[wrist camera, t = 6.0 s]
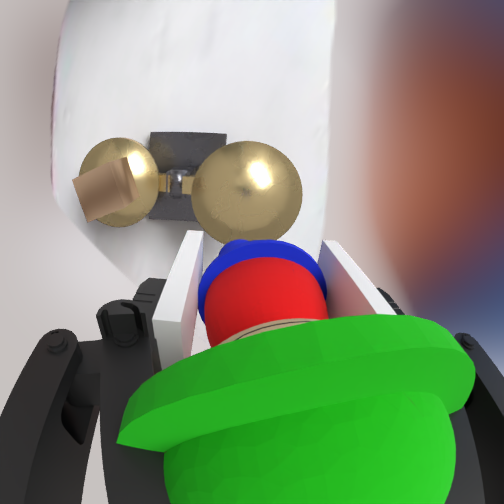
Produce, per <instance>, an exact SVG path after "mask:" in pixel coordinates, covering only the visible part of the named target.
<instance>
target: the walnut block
mask: <svg viewBox="0 0 504 504" xmlns="http://www.w3.org/2000/svg"><path fill="white" fill-rule="evenodd" d="M72 181H73V184H74V187H75V190H76V193H77V196H78V198H79V201H80V204H81V206H82V209H83V212H84V214H85V217H86V219H87V222H90V221H93V220H95V219H97V218H100V217H102V216H105V215H107V214H110V213H113V212H115V211H118V210H120V209H123V208H125V207H126V206H128V205H129V204H130V203H132V202H133V201H134V200H135V199H137V198H138V197H139V196H140V195H139V192H138V189H137V186H136V184H135V181H134V178H133V175H132V172H131V168H130V165H129V162H128V159H127V157H124V158H120V159H117V160H114V161H110V162H108V163H105V164H103V165H101V166H99V167H97V168H95V169H93V170H91V171H89V172H87V173H85V174H83V175H81V176H79V177H77V178H75V179H73V180H72Z"/></svg>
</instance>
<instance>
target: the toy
mask: <svg viewBox="0 0 504 504" xmlns="http://www.w3.org/2000/svg"><path fill="white" fill-rule="evenodd" d="M326 298H327V286H326V280H325V278H324V275H323V273H322V271H321V269H320V267H319V266H318V264H317V263H316V261H315V260H314V259H313V258H312V257H311V256H310V255H309V254H308V253H306V252H305V251H304V250H302V249H301V248H299V247H297V246H295V245H293V244H290V243H287V242H284V241H277V240H271V239H268V240H253V241H247V240H243V239H238V240H233V241H230V242H229V243H227V244H225V246H224V247H223V248H222V249H221V251H220V253H219V256H218V257H217V258H216V259H215V260H213V261H212V263H211V264H210V265H209V266H208V268H207V269H206V271H205V272H204V274H203V276H202V278H201V281H200V284H199V289H198V310H199V314H200V316H201V319H202V321H203V322H204V324H205V326H206V331H207V336H208V340H209V343H210V346H211V348H210V349H208V350H205V351H203V352H200V353H198V354H195V355H193V356H190V357H188V358H185V359H182V360H180V361H178V362H176V363H174V364H172V365H171V366H169V367H167V368H165V369H163V370H162V371H160V372H158V373H156V374H155V375H154V376H152V377H151V378H150V379H148V380H147V381H145V382H144V383H143V384H142V385H141V386H140V387H139V388H138V389H137V390H136V392H135V393H134V394H133V395H132V396H131V397H130V398H129V401H128V403H127V406H126V408H125V411H124V414H123V418H122V422H121V426H120V430H119V434H118V438H117V442H116V443H118V444H122V445H126V446H131V447H136V448H141V449H146V450H152V451H158V452H164V467H163V468H164V479H165V486H166V489H167V493H168V497H169V500H170V503H171V504H444V503H445V501H446V499H447V496H448V493H449V491H450V488H451V484H452V481H453V477H454V470H455V462H456V444H455V437H454V431H453V428H452V424H451V421H450V418H449V414H451V413H453V412H455V411H457V410H459V409H462V407H463V406H464V404H465V403H466V401H467V399H468V398H469V395H470V393H471V391H472V388H473V386H474V381H475V366H474V363H473V361H472V360H471V359H470V357H469V356H468V355H467V353H466V352H465V351H464V350H463V348H462V347H461V346H460V345H459V343H458V342H457V341H456V340H455V339H454V337H453V336H452V335H451V334H450V332H449V331H448V330H446V329H445V328H443V327H442V326H440V325H438V324H437V323H435V322H433V321H430V320H426V319H422V318H418V317H414V316H410V315H390V314H371V315H358V316H345V317H338V318H331V319H329V317H328V311H327V305H326Z"/></svg>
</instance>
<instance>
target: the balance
mask: <svg viewBox="0 0 504 504" xmlns="http://www.w3.org/2000/svg"><path fill="white" fill-rule="evenodd" d="M226 139H227V134H218V133H197V132H151V134H150V152H149V150H148V149H147V148H145V147H144V146H143V145H142V144H140V143H139V142H137V141H135V140H132V139H129V138H111V139H108V140H105V141H102V142H100V143H99V144H97V145H96V146H95V147H93V148H92V149H91V150H90V152H89V153H88V154H87V156H86V157H85V159H84V161H83V163H82V165H81V168H80V172H79V176H81V175H83V174H85V173H87V172H89V171H91V170H93V169H95V168H97V167H99V166H101V165H103V164H105V163H108V162H110V161H114V160H117V159H120V158H124V157H127V159H128V162H129V165H130V168H131V172H132V175H133V178H134V181H135V184H136V186H137V189H138V192H139V195H140V196H139V197H138V198H137V199H135V200H134V201H133V202H132V203H130V204H129V205H128V206H126V207H125V208H123V209H120V210H118V211H115V212H113V213H110V214H107V215H105V216H102V217H100V218H97V220H98V221H100V222H101V223H103V224H106V225H108V226H112V227H126V226H130V225H133V224H135V223H137V222H138V221H140V220H141V219H143V218H144V217H145V216H146V215H147V214H148V213H149V219H165V220H184V221H198V222H199V224H200V225H201V227H202V228H203V229H204V230H205V231H206V232H207V233H208V234H209V235H210V236H211V237H212V238H214V239H215V240H217V241H219V242H221V243H223V244H227V243H229V242H230V241H233V240H238V239H243V240H247V241H253V240H268V239H271V240H277V239H278V238H280V237H281V236H282V235H284V234H285V233H286V232H287V231H288V230H289V229H290V227H291V226H292V225H293V223H294V222H295V220H296V218H297V216H298V214H299V211H300V208H301V204H302V185H301V180H300V177H299V174H298V172H297V170H296V168H295V167H294V165H293V164H292V162H291V161H290V160H289V159H288V158H287V157H286V156H285V155H284V154H283V153H282V152H280V151H279V150H277V149H275V148H274V147H271V146H269V145H267V144H263V143H260V142H254V141H240V142H234V143H230V144H228V145H226Z"/></svg>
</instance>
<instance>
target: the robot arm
mask: <svg viewBox="0 0 504 504" xmlns="http://www.w3.org/2000/svg"><path fill="white" fill-rule="evenodd" d="M203 233H204V231H193V230H187V233H186V235H185V237H184V240H183V242H182V244H181V247H180V249H179V251H178V254H177V256H176V259H175V261H174V263H173V266H172V268H171V271H170V273H169V276H168V278H167V279H156V278H148V279H147V280H146V281H144V282H143V283H142V284H140V286H139V288H138V290H137V292H136V294H135V296H134V298H133V301H132V300H122V299H121V300H115V301H111V302H109V303H107V304H105V305H103V306H102V307H101V308H100V309H99V310H98V312H97V314H96V318H97V321H98V325H99V328H100V332H101V335H102V339H101V340H95V341H83V342H78V340H77V337H76V335H75V334H74V333H73V332H72V331H69V330H66V329H56V330H52V331H50V332H48V333H47V334H45V335H44V336H43V337H42V338H41V339H40V340H39V342H38V344H37V345H36V347H35V349H34V351H33V352H32V354H31V356H30V357H29V359H28V361H27V363H26V365H25V366H24V368H23V370H22V372H21V374H20V376H19V378H18V380H17V382H16V384H15V386H14V388H13V390H12V392H11V394H10V396H9V398H8V400H7V403H6V405H5V407H4V409H3V411H2V414H1V416H0V504H81V501H82V494H83V486H84V480H85V475H86V469H87V463H88V458H89V453H90V449H91V444H92V440H93V435H94V431H95V427H96V423H97V419H98V415H99V411H100V432H101V448H102V460H103V470H104V477H105V485H106V490H107V497H108V502H109V504H171V503H170V500H169V497H168V493H167V489H166V486H165V479H164V468H163V467H164V452H158V451H152V450H146V449H141V448H136V447H131V446H126V445H122V444H118V443H116V442H117V438H118V434H119V430H120V426H121V422H122V418H123V414H124V411H125V408H126V406H127V403H128V401H129V398H130V397H131V396H132V395H133V394H134V393H135V392H136V390H137V389H138V388H139V387H140V386H141V385H142V384H143V383H144V382H145V381H147V380H148V379H150V378H151V377H152V376H154V375H155V374H156V373H158V372H160V371H162V370H163V369H165V368H167V367H169V366H171V365H172V364H174V363H176V362H178V361H180V360H182V359H185V358H188V357H190V356H191V349H192V342H193V335H194V329H195V322H196V316H197V310H198V289H199V284H200V281H201V278H202V268H203ZM317 264H318V266H319V267H320V269H321V271H322V273H323V275H324V278H325V280H326V286H327V298H326V305H327V311H328V317H329V319H331V318H338V317H345V316H358V315H371V314H390V315H405V314H404V313H403V312H402V310H401V309H399V307H398V306H397V304H396V303H394V300H393V299H392V298H391V297H390V296H389V295H388V294H387V293H386V292H384V291H383V290H382V289H380V288H376V287H375V286H374V285H373V284H372V282H371V281H370V280H369V279H368V277H367V276H366V275H365V274H364V273H363V271H362V270H361V269H360V268H359V267H358V265H357V264H356V263H355V262H354V261H353V260H352V258H351V257H350V256H349V255H348V254H347V253H346V251H345V250H344V249H343V248H342V247H341V246H340V244H339V243H338V242H337V241H331V240H322V245H321V250H320V254H319V259H318V263H317ZM454 339H455V340H456V341H457V342H458V343H459V345H460V346H461V347H462V348H463V350H464V351H465V352H466V353H467V355H468V356H469V357H470V359H471V360H472V361H473V363H474V366H475V381H474V386H473V388H472V391H471V393H470V395H469V398H468V399H467V401H466V403H465V404H464V406H463V407H462V409H459V410H457V411H455V412H453V413H451V414H449V418H450V421H451V424H452V428H453V431H454V437H455V444H456V462H455V470H454V477H453V481H452V484H451V488H450V491H449V493H448V496H447V499H446V501H445V503H444V504H504V377H503V375H502V374H501V373H500V371H499V370H498V368H497V367H496V366H495V364H494V363H493V362H492V360H491V359H490V358H489V356H488V355H487V354H486V352H485V351H484V350H483V348H482V347H481V346H480V345H479V343H478V342H477V341H476V340H475V339H474V338H473V337H471V336H470V335H469V334H466V333H457V334H456V335H455V337H454Z"/></svg>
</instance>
